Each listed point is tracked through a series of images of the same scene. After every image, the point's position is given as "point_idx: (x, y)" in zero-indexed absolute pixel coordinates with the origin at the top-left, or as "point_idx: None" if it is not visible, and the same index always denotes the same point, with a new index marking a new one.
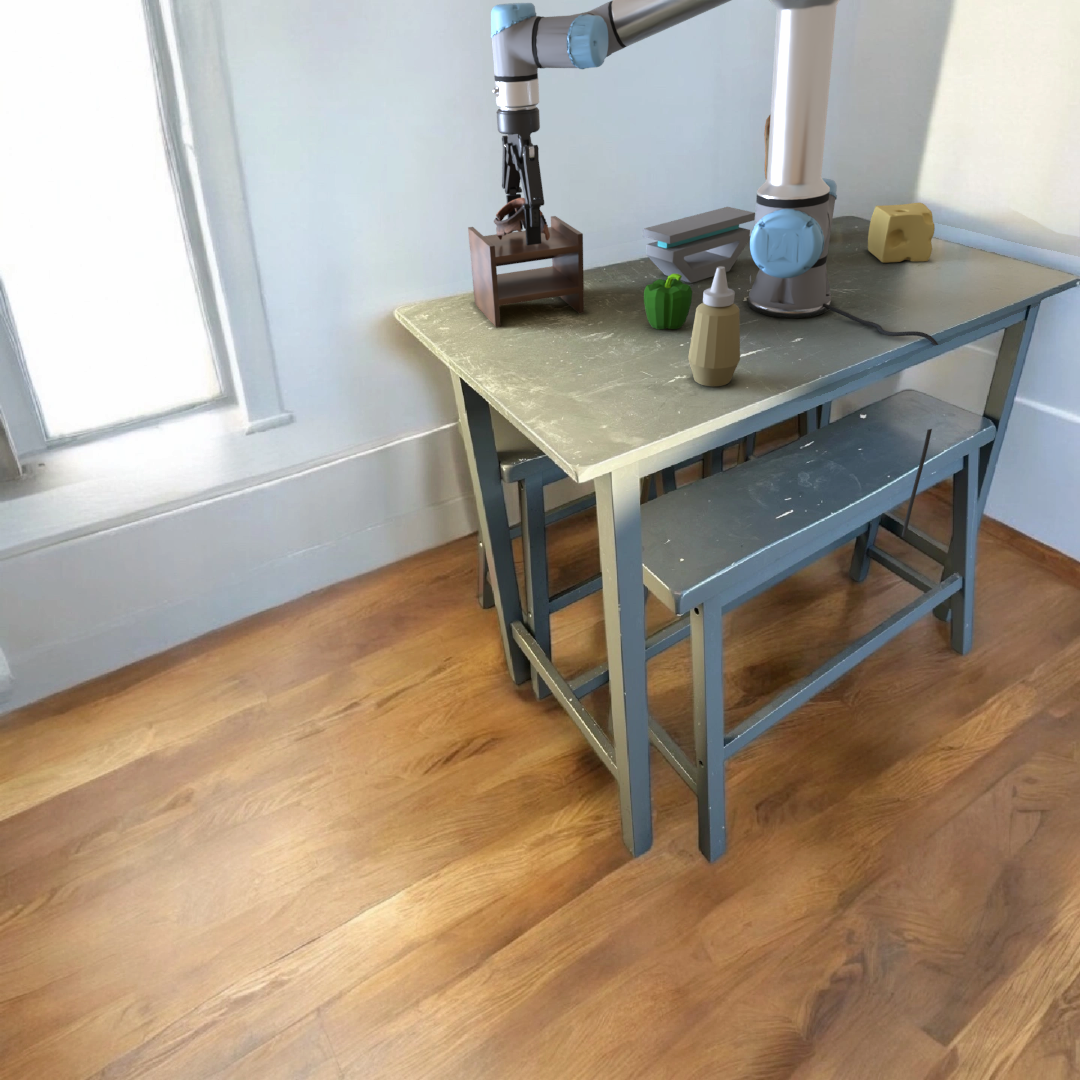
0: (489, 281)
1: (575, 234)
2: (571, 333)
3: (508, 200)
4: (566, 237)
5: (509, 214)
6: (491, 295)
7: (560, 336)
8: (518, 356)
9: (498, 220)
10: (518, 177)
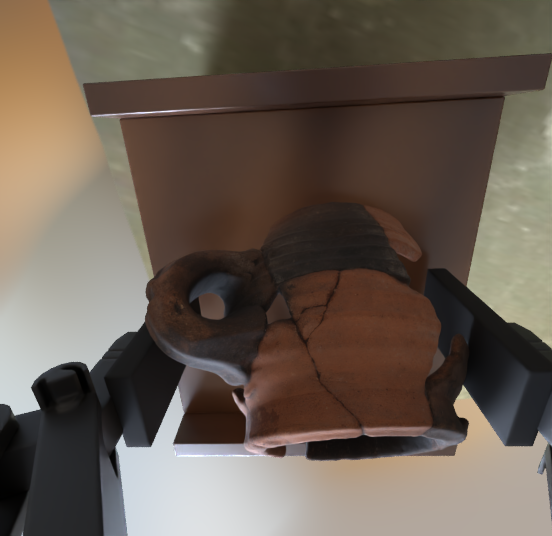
0: None
1: (497, 92)
2: (508, 177)
3: (159, 420)
4: (340, 105)
5: (182, 366)
6: None
7: (508, 206)
8: (547, 309)
9: (318, 443)
10: (109, 530)
